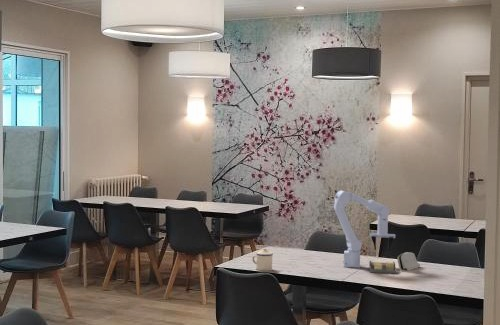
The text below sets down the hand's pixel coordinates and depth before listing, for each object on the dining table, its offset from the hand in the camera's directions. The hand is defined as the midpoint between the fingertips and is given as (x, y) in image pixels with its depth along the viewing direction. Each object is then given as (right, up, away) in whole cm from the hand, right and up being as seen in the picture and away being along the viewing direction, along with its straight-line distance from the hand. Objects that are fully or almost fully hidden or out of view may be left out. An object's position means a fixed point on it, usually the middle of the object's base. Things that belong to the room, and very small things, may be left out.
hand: (381, 249), depth 388 cm
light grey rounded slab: (+14, -10, -3) cm, 18 cm away
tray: (-3, -10, -17) cm, 19 cm away
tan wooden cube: (+2, -7, -13) cm, 15 cm away
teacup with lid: (-70, -9, -16) cm, 72 cm away
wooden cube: (-5, -7, -17) cm, 19 cm away
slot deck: (-1, -10, -7) cm, 12 cm away
